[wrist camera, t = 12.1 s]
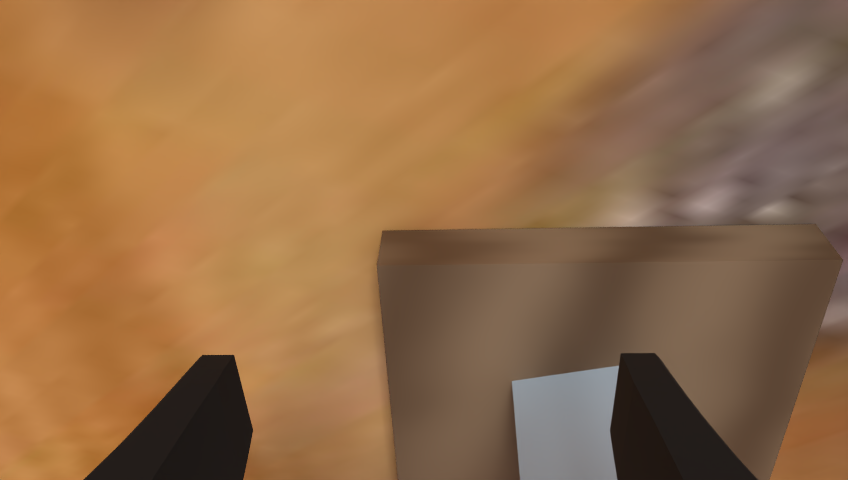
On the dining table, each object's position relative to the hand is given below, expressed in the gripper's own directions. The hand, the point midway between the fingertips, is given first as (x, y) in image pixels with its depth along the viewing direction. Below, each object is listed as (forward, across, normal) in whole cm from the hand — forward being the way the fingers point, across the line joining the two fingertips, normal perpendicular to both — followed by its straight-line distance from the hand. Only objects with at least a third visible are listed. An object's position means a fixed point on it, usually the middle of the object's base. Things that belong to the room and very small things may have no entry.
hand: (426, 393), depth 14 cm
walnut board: (+10, -5, +10) cm, 15 cm away
